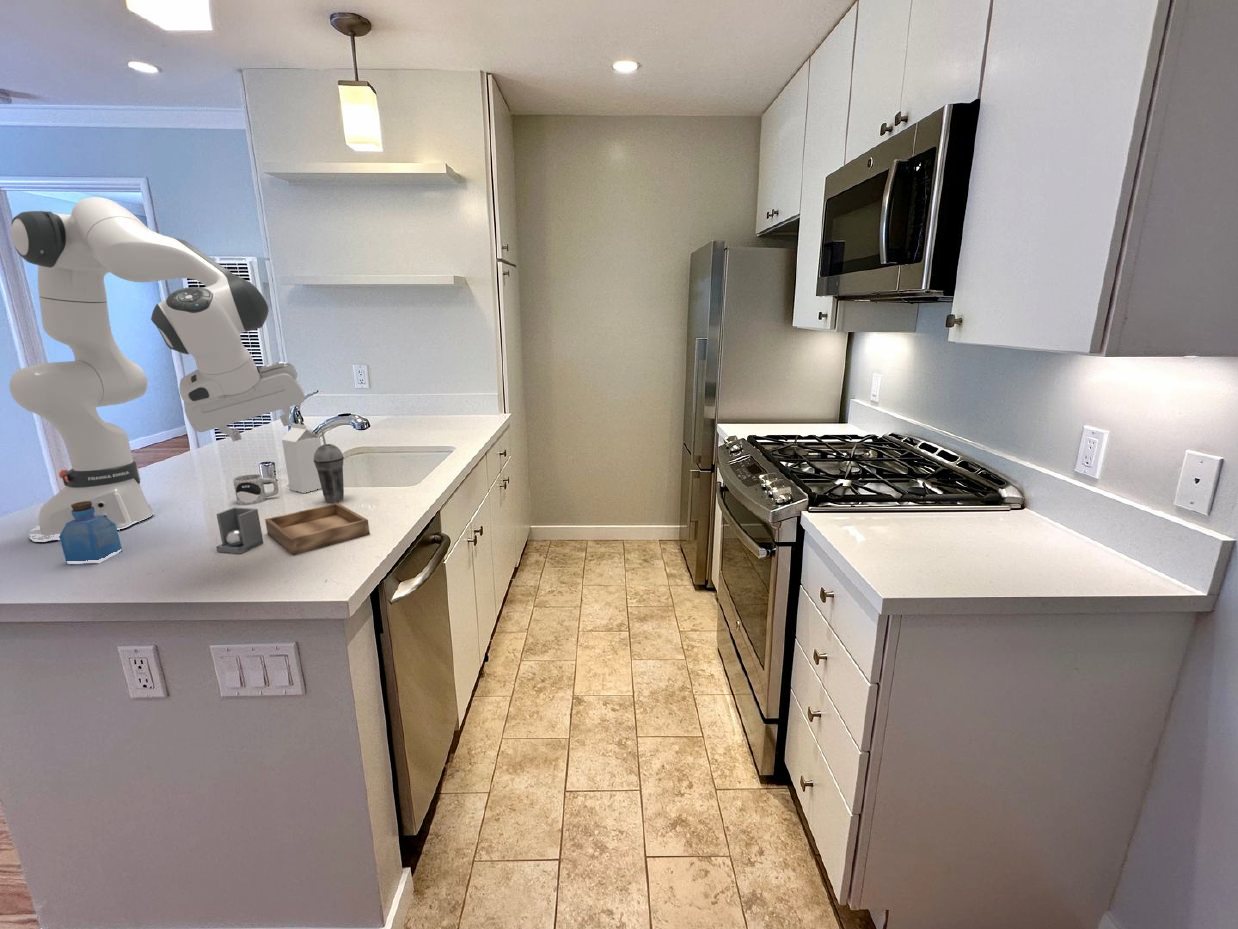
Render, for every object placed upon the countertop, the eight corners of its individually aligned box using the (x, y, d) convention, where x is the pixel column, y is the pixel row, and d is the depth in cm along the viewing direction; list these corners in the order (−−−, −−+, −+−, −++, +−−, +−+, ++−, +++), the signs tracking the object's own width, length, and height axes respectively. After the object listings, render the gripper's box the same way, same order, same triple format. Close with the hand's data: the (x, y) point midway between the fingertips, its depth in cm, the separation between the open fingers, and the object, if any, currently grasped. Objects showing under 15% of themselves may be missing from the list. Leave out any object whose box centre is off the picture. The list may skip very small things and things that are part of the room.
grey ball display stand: (240, 554, 121) (234, 518, 119) (217, 551, 122) (210, 516, 120) (263, 543, 126) (257, 508, 124) (240, 541, 128) (234, 507, 126)
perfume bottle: (91, 553, 122) (77, 499, 119) (122, 551, 123) (109, 498, 120) (67, 565, 116) (51, 509, 113) (99, 563, 117) (85, 508, 114)
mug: (235, 506, 152) (230, 482, 150) (239, 499, 157) (235, 476, 156) (278, 501, 155) (274, 477, 154) (281, 494, 161) (277, 471, 160)
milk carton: (303, 494, 161) (293, 427, 157) (289, 490, 165) (279, 425, 160) (327, 487, 167) (318, 423, 162) (313, 484, 171) (304, 421, 166)
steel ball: (234, 551, 122) (226, 539, 120) (228, 544, 124) (221, 532, 122) (251, 542, 124) (243, 530, 122) (245, 535, 126) (238, 523, 124)
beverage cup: (354, 496, 158) (345, 425, 153) (339, 505, 151) (329, 430, 146) (329, 496, 159) (319, 425, 154) (313, 504, 152) (302, 430, 147)
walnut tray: (293, 555, 120) (290, 539, 119) (267, 533, 132) (264, 519, 131) (369, 534, 131) (367, 519, 130) (339, 516, 143) (337, 502, 142)
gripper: (288, 351, 115) (313, 407, 124) (170, 382, 107) (207, 439, 116) (293, 366, 110) (318, 423, 120) (171, 399, 103) (208, 456, 112)
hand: (262, 431), depth 118 cm, fingers open, 8 cm apart
